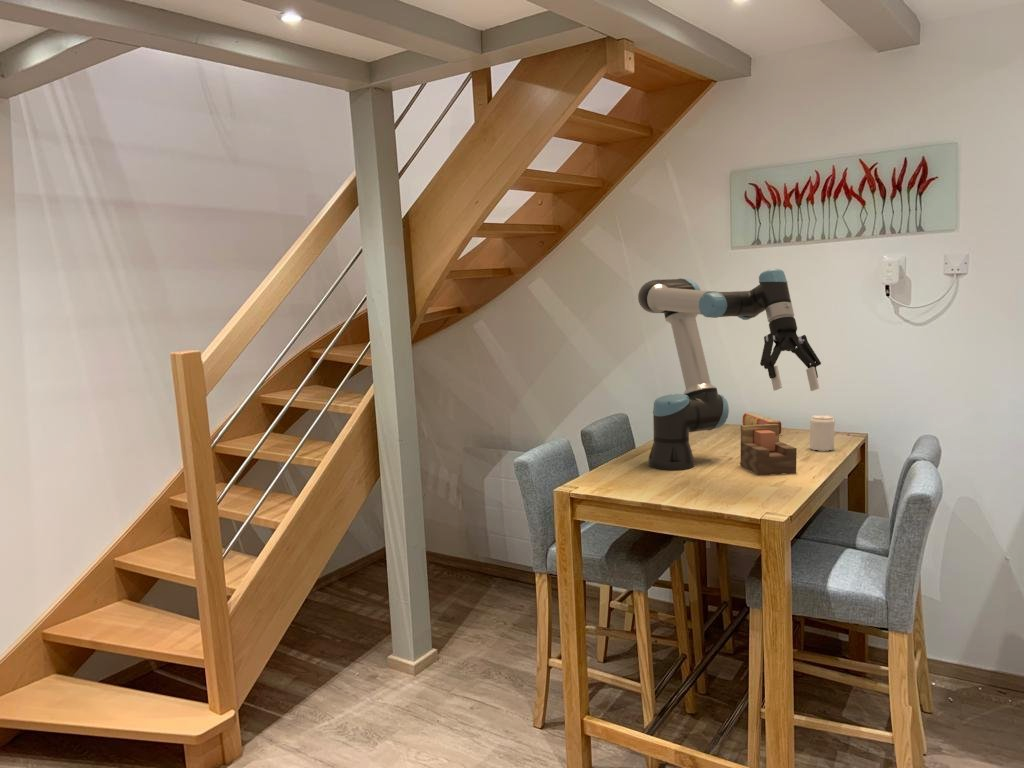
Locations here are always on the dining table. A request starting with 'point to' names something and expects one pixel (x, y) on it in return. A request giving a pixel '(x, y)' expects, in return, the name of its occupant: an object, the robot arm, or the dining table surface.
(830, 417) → the beverage can
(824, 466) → the dining table surface
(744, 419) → the snack package
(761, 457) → the guide block
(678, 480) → the dining table surface
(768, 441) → the peg
